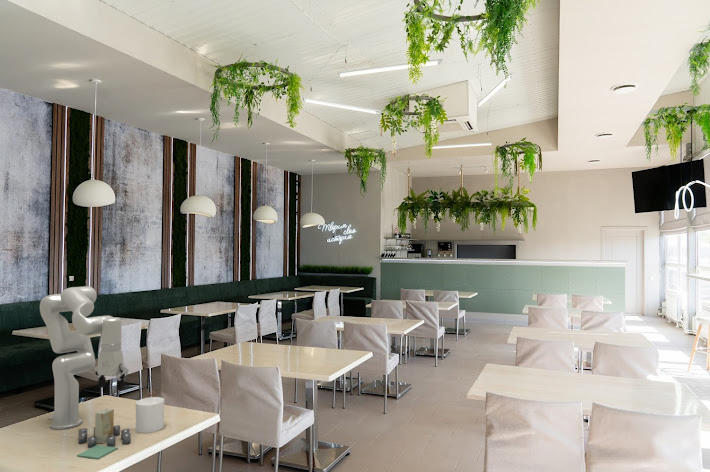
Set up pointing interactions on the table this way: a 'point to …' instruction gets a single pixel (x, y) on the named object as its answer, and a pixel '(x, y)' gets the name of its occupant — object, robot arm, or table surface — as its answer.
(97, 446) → the coaster
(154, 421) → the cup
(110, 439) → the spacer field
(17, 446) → the table surface
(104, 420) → the skincare box
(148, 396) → the brown wooden carved piece
